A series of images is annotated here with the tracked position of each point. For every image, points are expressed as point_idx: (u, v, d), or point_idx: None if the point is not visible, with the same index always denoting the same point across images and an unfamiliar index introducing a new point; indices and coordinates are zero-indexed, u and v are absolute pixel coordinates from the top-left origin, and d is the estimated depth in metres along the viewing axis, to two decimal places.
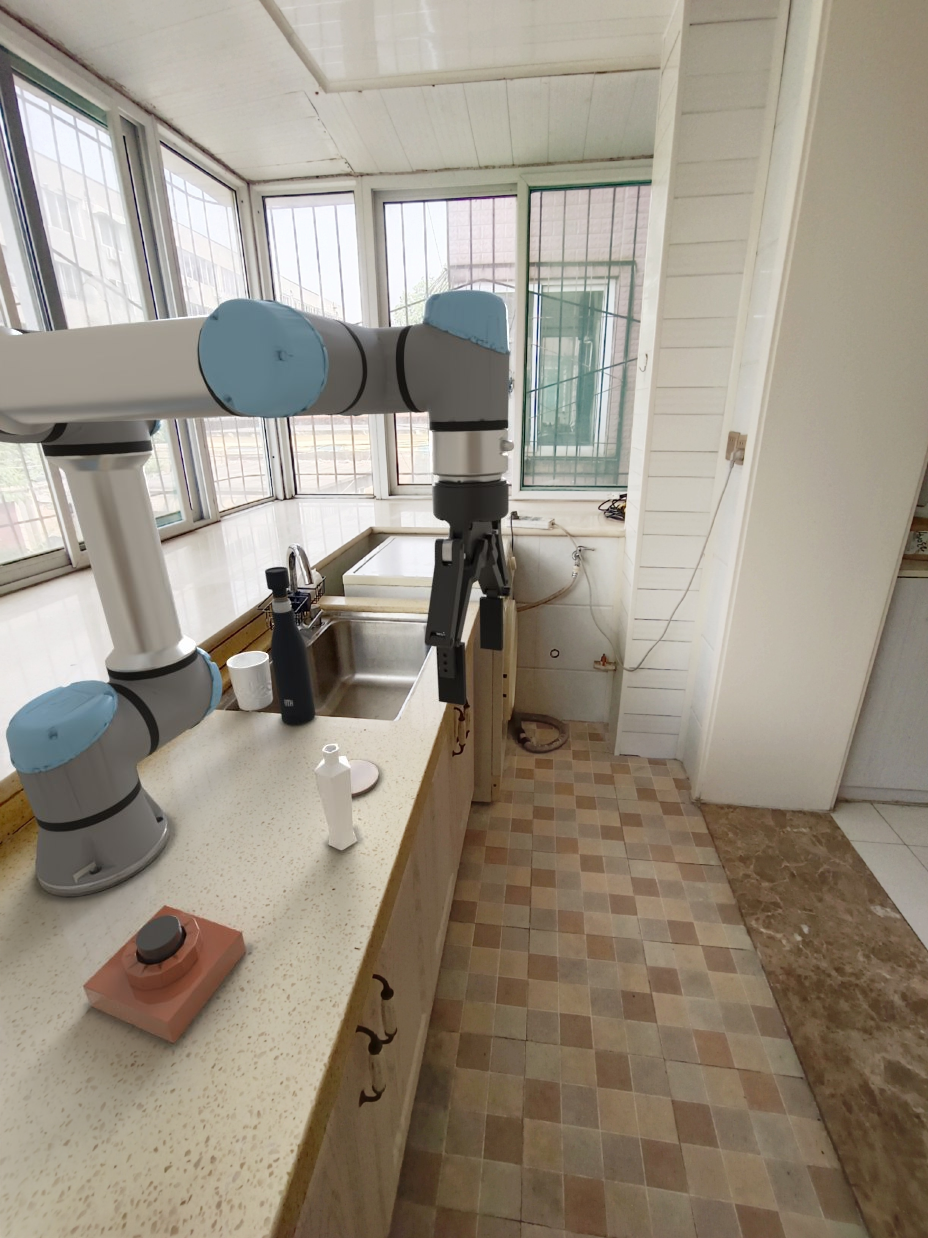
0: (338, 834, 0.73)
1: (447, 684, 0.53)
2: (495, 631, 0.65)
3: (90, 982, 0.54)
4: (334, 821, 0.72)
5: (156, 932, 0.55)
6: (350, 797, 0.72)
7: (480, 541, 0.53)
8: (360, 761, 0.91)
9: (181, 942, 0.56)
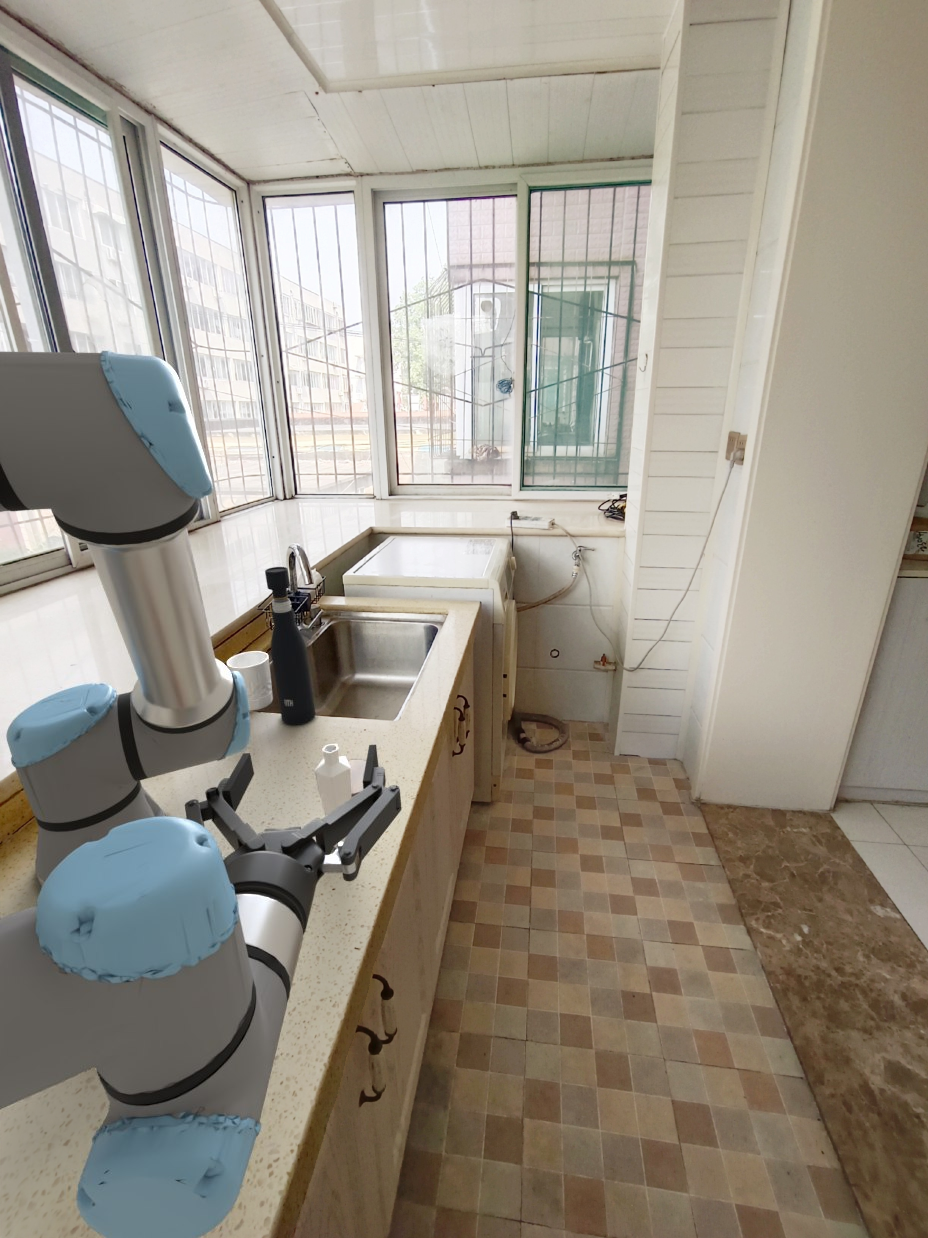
0: None
1: None
2: None
3: None
4: None
5: None
6: (350, 797, 0.72)
7: None
8: (360, 761, 0.91)
9: None
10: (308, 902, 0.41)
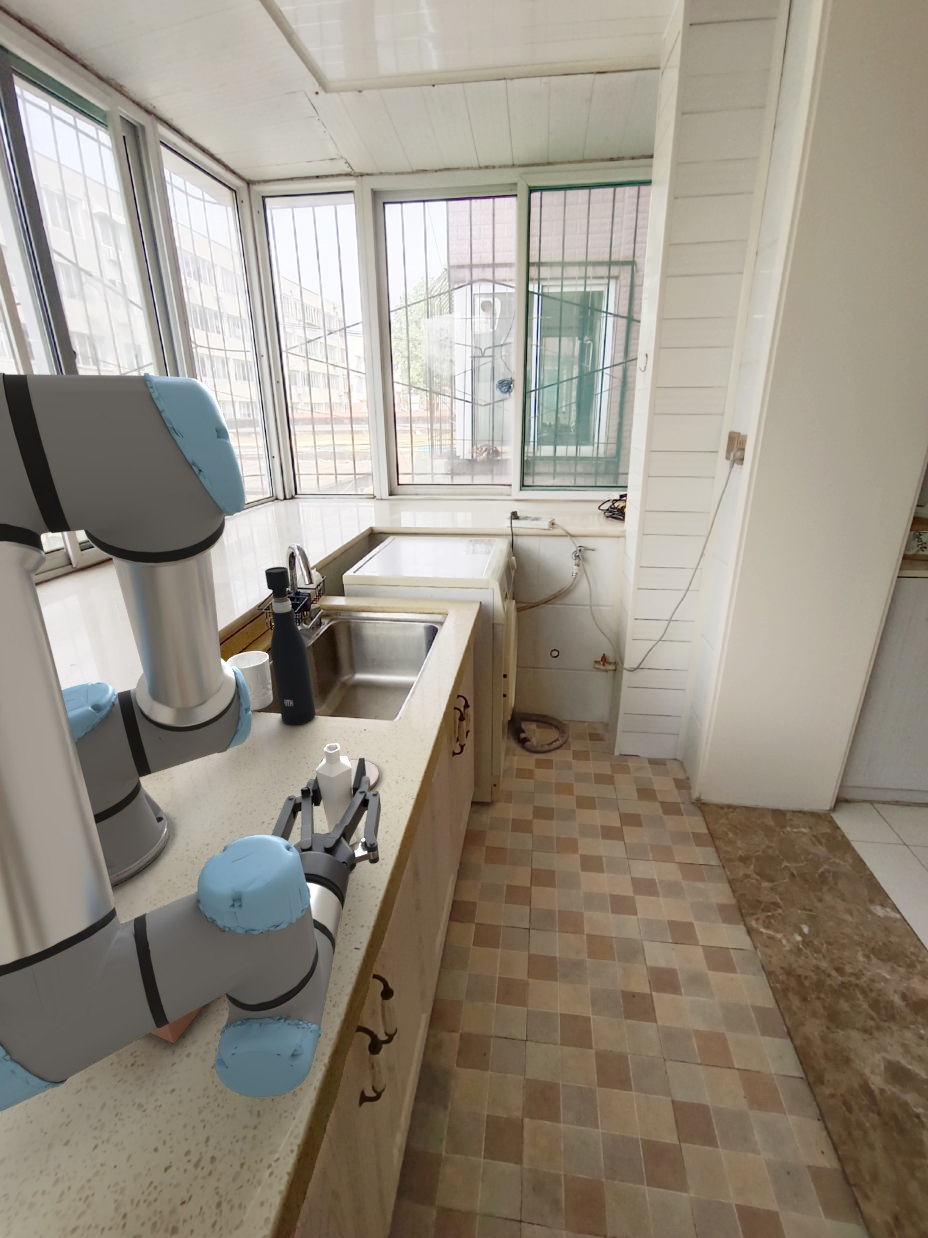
0: None
1: None
2: None
3: None
4: (335, 820, 0.72)
5: None
6: (351, 797, 0.72)
7: None
8: None
9: None
10: (345, 888, 0.57)
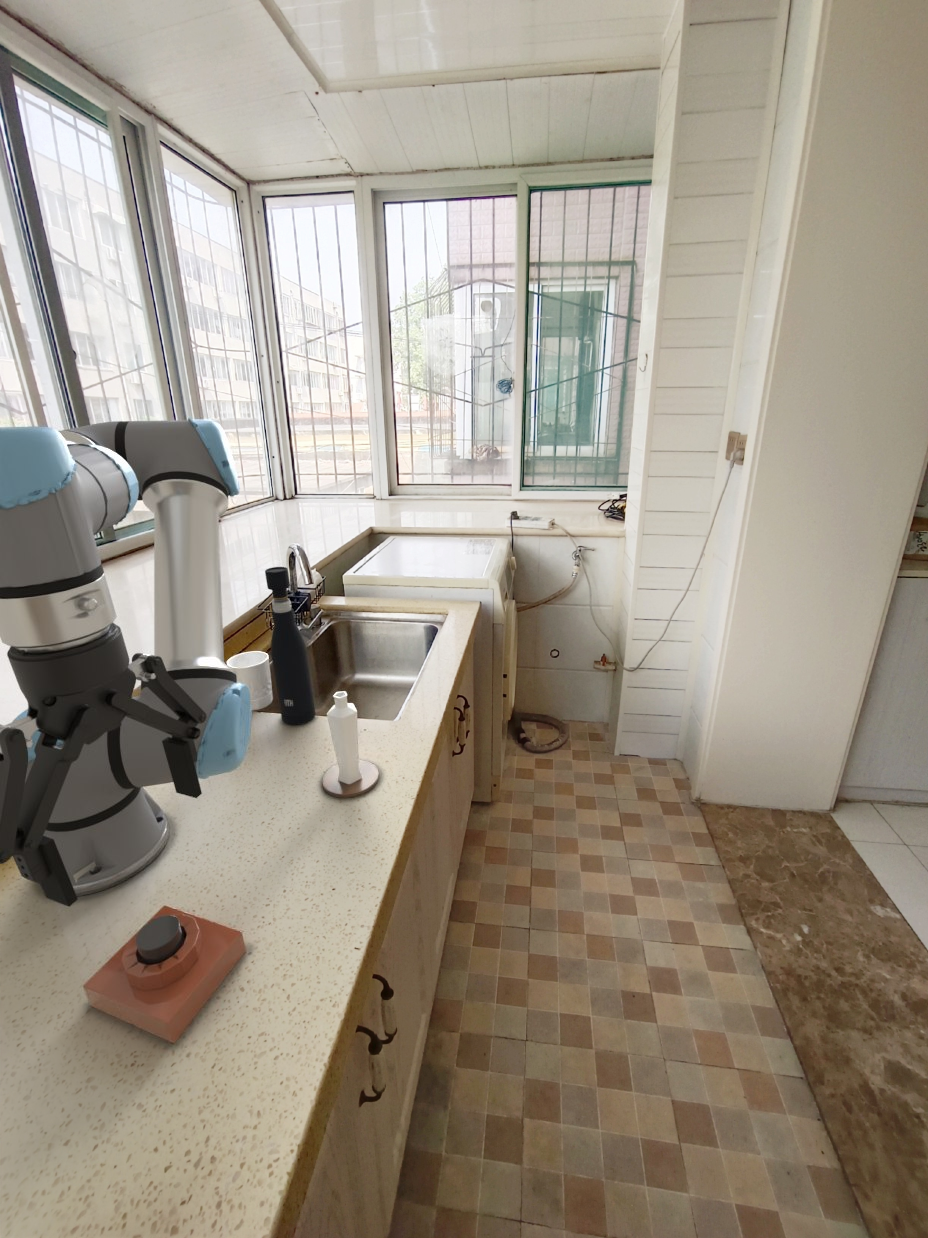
0: (346, 770, 0.85)
1: (46, 882, 0.44)
2: (185, 777, 0.55)
3: (90, 982, 0.54)
4: (343, 758, 0.84)
5: (156, 932, 0.55)
6: (357, 738, 0.84)
7: (80, 712, 0.43)
8: (360, 761, 0.91)
9: (181, 942, 0.56)
10: None
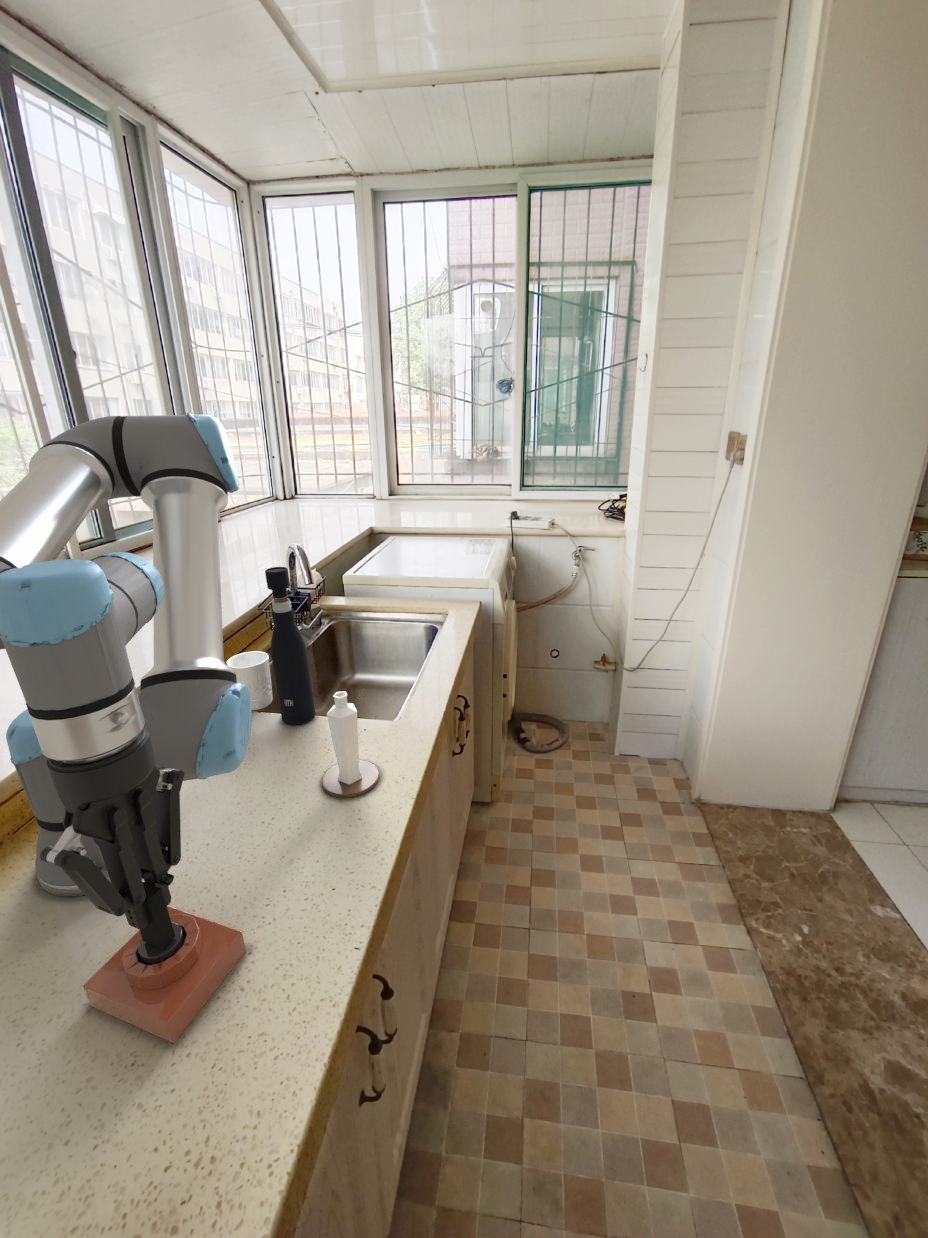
0: (346, 770, 0.85)
1: (145, 929, 0.54)
2: None
3: (90, 982, 0.54)
4: (343, 758, 0.84)
5: None
6: (357, 738, 0.84)
7: (111, 812, 0.47)
8: (360, 761, 0.91)
9: None
10: None
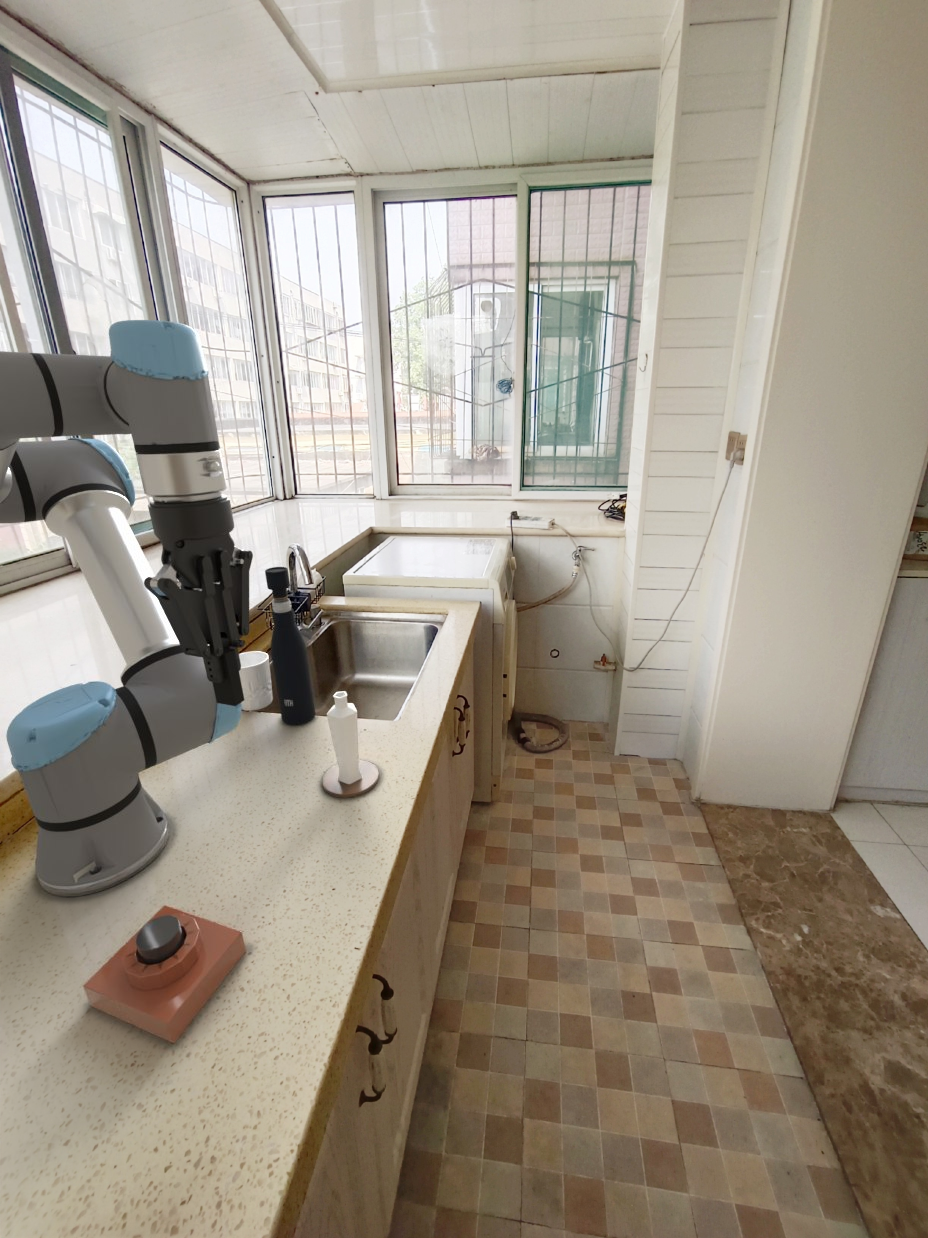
0: (346, 770, 0.85)
1: (220, 688, 0.62)
2: None
3: (90, 982, 0.54)
4: (343, 758, 0.84)
5: (156, 932, 0.55)
6: (357, 738, 0.84)
7: (199, 558, 0.55)
8: (360, 761, 0.91)
9: (181, 942, 0.56)
10: None
